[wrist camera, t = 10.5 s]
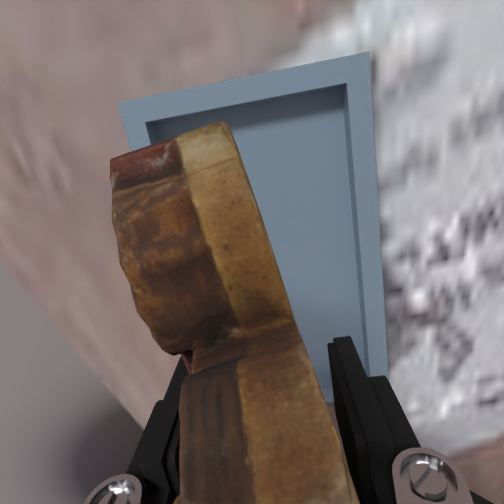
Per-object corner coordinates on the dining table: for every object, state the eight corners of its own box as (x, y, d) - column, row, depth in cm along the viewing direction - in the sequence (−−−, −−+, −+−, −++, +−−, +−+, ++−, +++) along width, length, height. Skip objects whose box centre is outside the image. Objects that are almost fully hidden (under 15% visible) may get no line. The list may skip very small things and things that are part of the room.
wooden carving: (120, 172, 12) (-526, 326, 2) (245, 116, 11) (90, -21, 1) (291, 504, 16) (323, 1023, 7) (387, 480, 15) (576, 1026, 6)
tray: (359, 60, 19) (369, 51, 17) (380, 376, 26) (389, 396, 24) (131, 105, 20) (117, 102, 18) (207, 395, 27) (203, 415, 25)
